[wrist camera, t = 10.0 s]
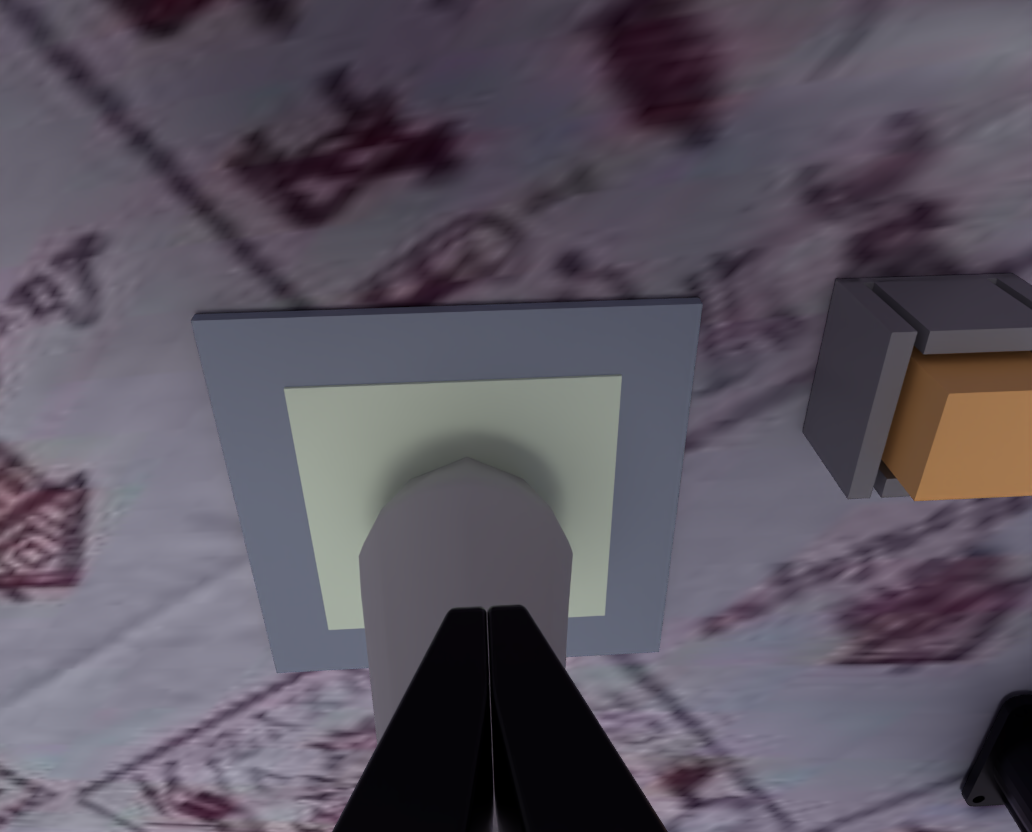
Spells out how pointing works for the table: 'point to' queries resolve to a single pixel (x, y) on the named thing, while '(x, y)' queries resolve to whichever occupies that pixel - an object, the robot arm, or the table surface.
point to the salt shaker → (457, 568)
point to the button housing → (898, 359)
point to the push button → (963, 426)
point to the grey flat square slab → (452, 447)
